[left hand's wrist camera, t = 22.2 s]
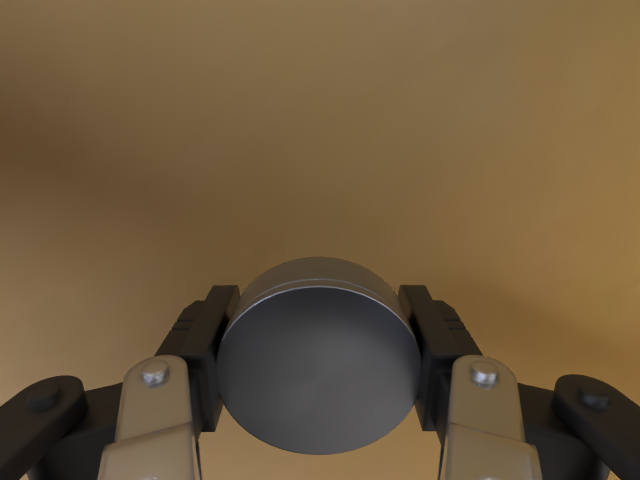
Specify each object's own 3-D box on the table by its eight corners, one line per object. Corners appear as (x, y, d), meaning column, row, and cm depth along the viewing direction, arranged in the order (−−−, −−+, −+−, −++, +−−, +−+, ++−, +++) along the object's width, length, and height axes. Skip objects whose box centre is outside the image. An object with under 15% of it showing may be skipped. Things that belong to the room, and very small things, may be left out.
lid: (267, 226, 10) (257, 252, 8) (441, 297, 11) (462, 333, 9) (206, 375, 12) (188, 420, 10) (360, 427, 12) (366, 477, 11)
